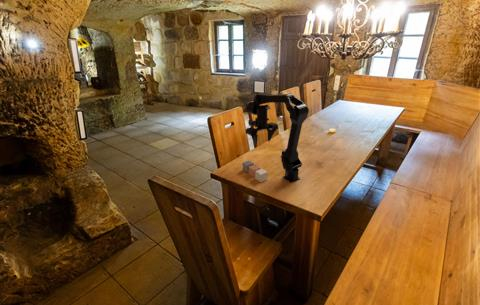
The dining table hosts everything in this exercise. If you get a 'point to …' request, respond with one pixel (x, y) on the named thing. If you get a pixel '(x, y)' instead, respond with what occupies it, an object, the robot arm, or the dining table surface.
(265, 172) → the white cube
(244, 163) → the grey cube
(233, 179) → the dining table surface
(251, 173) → the terracotta cube
